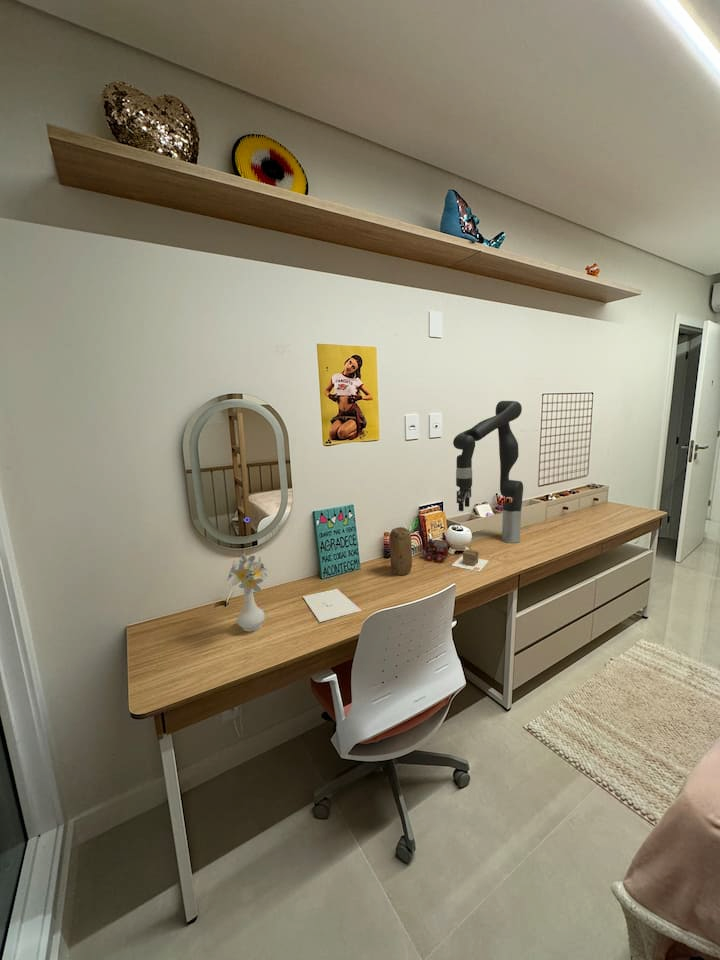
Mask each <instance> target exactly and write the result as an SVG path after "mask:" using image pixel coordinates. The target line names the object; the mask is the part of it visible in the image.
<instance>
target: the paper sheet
mask: <svg viewBox="0 0 720 960" xmlns="http://www.w3.org/2000/svg"><path fill="white" fill-rule="evenodd" d="M302 598H303V599H304V600H305V602H306V604H307V606H308V607H309V608H310V610H311V612H313V614H314V615H315V618H316V620H318V621H319V623H322V622H325V621H326V622H327V621H329V620H333V619H336V618H340V617H344V616H347V615H350V614H354V613H357V612H361V611H362V609H361V608H359V606H357V604H355V603H354V602H353V601H351V599H350V598H348V597H347V595H345V594H344V593H343V592H342V591H340V590H339V589H338V588H335V589H330V590H326V591H322V592H316V593H313V594H312V593H311V594H308V595H303V596H302Z"/></svg>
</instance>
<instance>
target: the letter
mask: <svg viewBox="0 0 720 960" xmlns="http://www.w3.org/2000/svg"><path fill="white" fill-rule="evenodd" d="M488 563H489V560H487V559H482V558H478V563H477V564H476V565H475V566H471V565H466V564H463V554H462V555H461V556H460V557H459V558H458V559H456V560H455V562H453V563H452V564H451V566H452V567H454V568H460V569H465V570H468V571H475V572H478V573H479V572H481V571H482V570H483V568H484V567H485V566H486V565H487V564H488Z"/></svg>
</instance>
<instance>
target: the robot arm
mask: <svg viewBox="0 0 720 960" xmlns="http://www.w3.org/2000/svg"><path fill="white" fill-rule="evenodd" d="M522 411H523V409H522V404H521V403H520V402H519V401H517V400H499V402H497V404H496V406H495V415H494V416H492V417H489V418H486V419H483V420H481V421H480V422H478V423H476V424H475V425H474V426H472V427H471V428H470V429H467V430H464V431H462V432H460V433H458V434H457V435H455V437H454V438H453V441H452V443H453V447H454V448H455V449H457V450H462V451H461V454H459V455H457V456H456V469H455V470H456V471H455V486H456V487H457V488H459V489H458V490H456V504H458V512H464V511H465V510H464V507H466V508H469V507H470V499H471V498H472V486H473V468H472V466H473V462H472V461H473V460H472V459H473V456H474V452H475V448H476V442H478V441H480V440H482V439H484V438H485V437H486V436H487V435H488V436H489V434H490V433H492V432H493V431H495V430H497V435H498V453H499V467H500V468H499V469H500V471H499V472H500V475H499V477H500V478H499V492H500V495H501V496H502V497H505V498H506V497H507V498H512V499H513V500H512V501H509V502H505V503H503V504H502V520H501V521H502V525H501V526H502V527H501V541H503V542H505V543H511V544H515V543H520V542H521V524H522V522H521V521H522V506H523V505H522V504H523V495H524V484H523V482H522V481H520V480H515V479H513V480H512V479H510V478H509V477H510V471H511V470H512V468H513V467H514V465H515V464H516V462H517V461H518V459H519V456H520V455H519V454H520V453H519V443H518V440H517V439H516V437H515V435H514V432H513V431H512V429H511V426H510V425H511V424H510V422H512V421H514V420H517V419H518V418H519V417H520V416H521V414H522Z"/></svg>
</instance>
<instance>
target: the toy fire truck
mask: <svg viewBox="0 0 720 960" xmlns="http://www.w3.org/2000/svg"><path fill="white" fill-rule="evenodd" d="M448 548H449V540H441V539H434V540H433V539H432V538H428V541H426V542H425V544H424V547H423V548H422V554H423V556H424V557H425V561H427V562H432V561H433V560H434V558H435V561H436V562H437V563H438V564H439V563H440V564H441V563H443V562H444V560H445V559H447V558H448V557H449V556H448V555H449V553H448ZM433 549H434V550H433Z"/></svg>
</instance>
